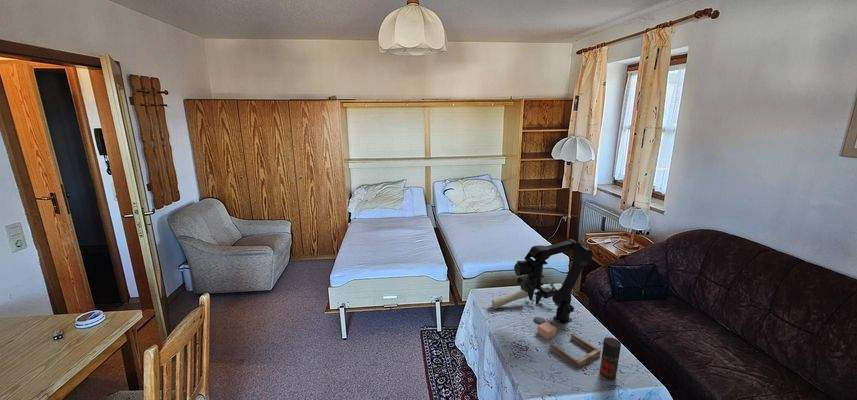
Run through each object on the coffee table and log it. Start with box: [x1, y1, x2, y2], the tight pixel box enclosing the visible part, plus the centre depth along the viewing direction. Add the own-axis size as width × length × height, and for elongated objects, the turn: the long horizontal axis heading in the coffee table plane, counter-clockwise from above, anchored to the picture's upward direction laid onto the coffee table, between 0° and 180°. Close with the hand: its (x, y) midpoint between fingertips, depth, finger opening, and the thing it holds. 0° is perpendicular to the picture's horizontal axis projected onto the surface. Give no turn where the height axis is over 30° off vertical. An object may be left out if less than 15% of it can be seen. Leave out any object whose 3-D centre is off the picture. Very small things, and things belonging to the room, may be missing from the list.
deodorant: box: [599, 336, 622, 381], centre depth 141 cm, size 6×6×15 cm
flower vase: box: [491, 282, 557, 310], centre depth 192 cm, size 12×12×35 cm
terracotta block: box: [536, 321, 557, 340], centre depth 168 cm, size 6×6×4 cm
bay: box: [550, 333, 602, 369], centre depth 155 cm, size 15×14×2 cm
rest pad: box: [533, 316, 547, 325], centre depth 178 cm, size 6×6×1 cm
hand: (533, 302), depth 173 cm, fingers open, 3 cm apart
